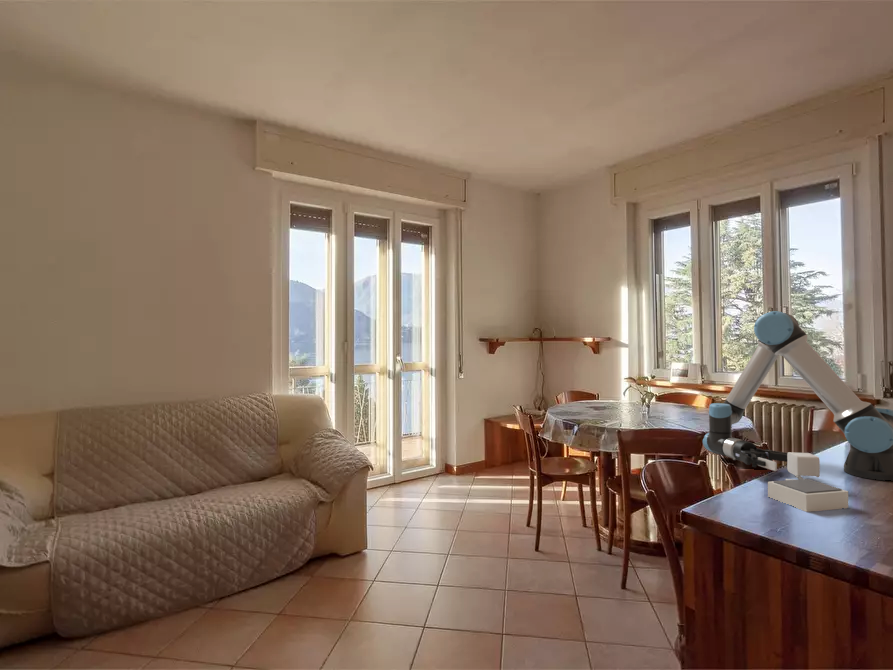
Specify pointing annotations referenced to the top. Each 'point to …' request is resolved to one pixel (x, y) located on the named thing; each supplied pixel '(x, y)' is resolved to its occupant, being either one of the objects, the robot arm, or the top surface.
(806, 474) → the security camera
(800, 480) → the cream gray-topped block
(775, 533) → the top surface
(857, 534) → the top surface
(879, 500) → the top surface
